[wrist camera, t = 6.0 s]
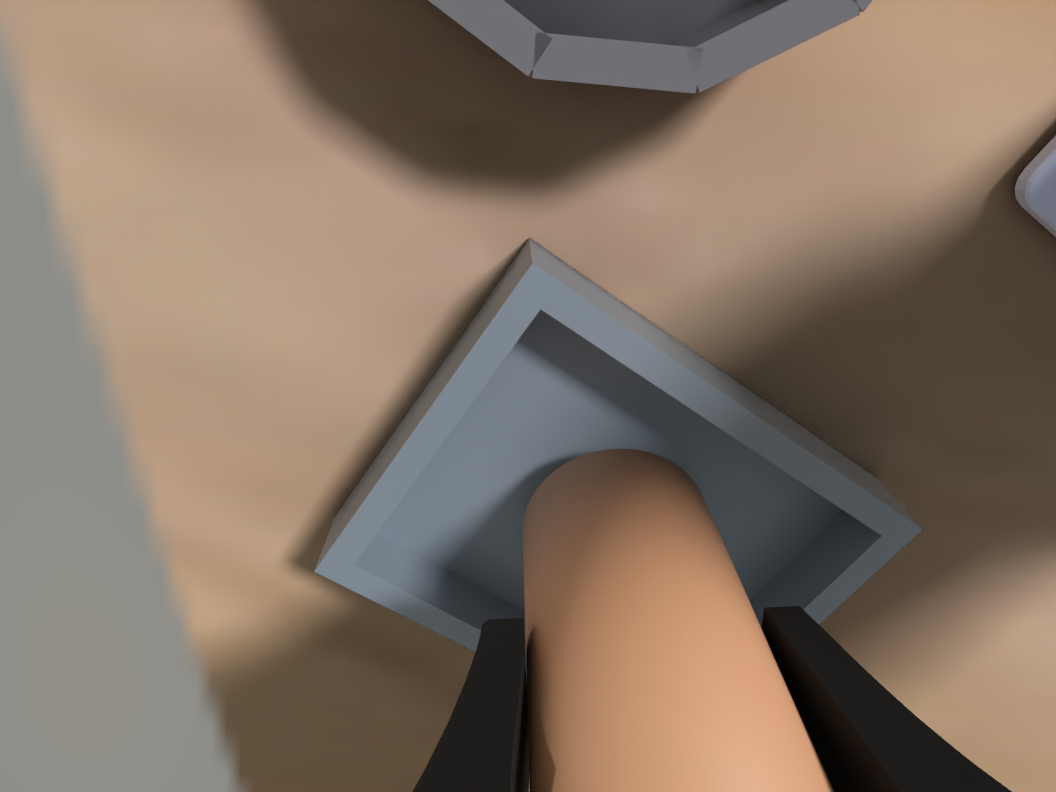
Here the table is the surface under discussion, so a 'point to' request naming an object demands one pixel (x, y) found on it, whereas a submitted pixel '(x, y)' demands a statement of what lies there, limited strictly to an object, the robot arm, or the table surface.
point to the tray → (584, 427)
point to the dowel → (647, 643)
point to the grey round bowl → (645, 36)
